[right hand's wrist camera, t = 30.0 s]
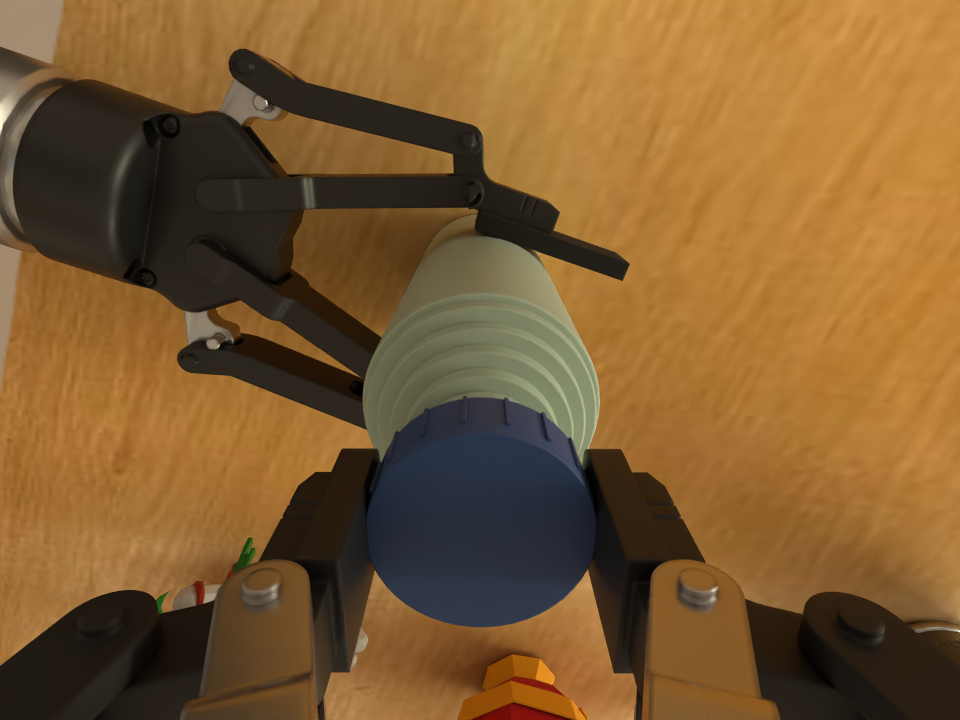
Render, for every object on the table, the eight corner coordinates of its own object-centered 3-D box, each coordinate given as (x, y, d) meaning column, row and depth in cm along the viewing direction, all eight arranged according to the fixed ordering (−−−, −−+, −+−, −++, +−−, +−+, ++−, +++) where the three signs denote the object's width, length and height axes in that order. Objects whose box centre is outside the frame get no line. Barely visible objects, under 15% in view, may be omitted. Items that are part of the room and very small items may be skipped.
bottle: (514, 346, 34) (568, 669, 13) (407, 308, 33) (282, 589, 12) (558, 238, 32) (704, 422, 11) (444, 196, 31) (369, 306, 10)
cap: (628, 500, 12) (648, 550, 11) (469, 606, 13) (467, 664, 12) (496, 350, 11) (498, 382, 10) (332, 478, 12) (312, 525, 11)
